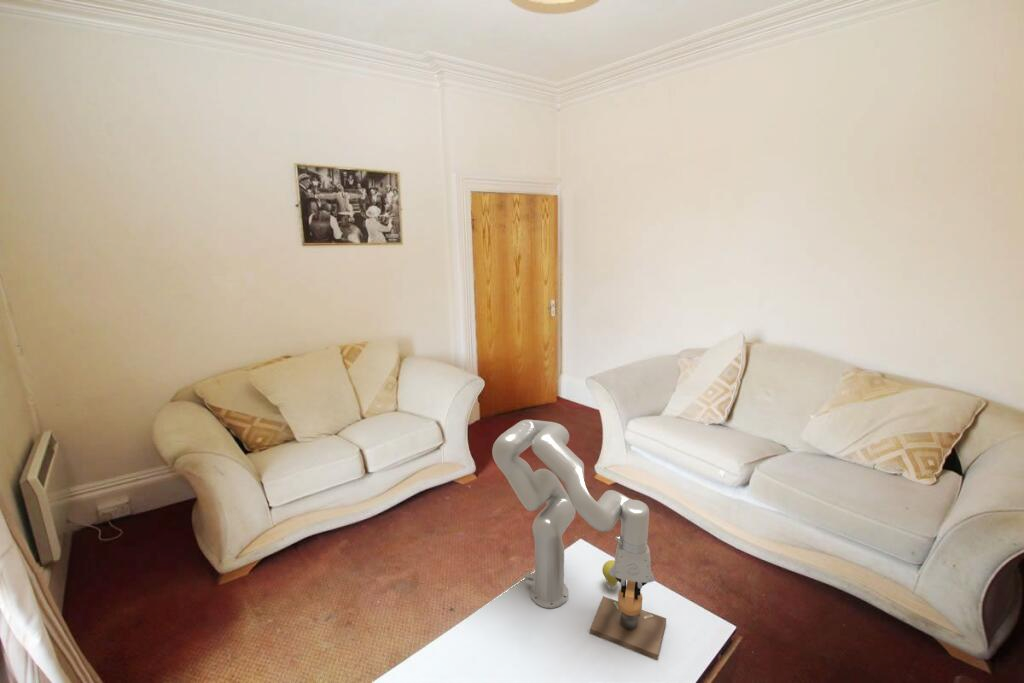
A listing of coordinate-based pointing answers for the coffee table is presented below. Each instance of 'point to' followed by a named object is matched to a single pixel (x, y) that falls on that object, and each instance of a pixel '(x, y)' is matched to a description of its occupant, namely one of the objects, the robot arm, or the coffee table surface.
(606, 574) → the light bulb
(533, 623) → the coffee table surface
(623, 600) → the orange bar knob
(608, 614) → the post board
